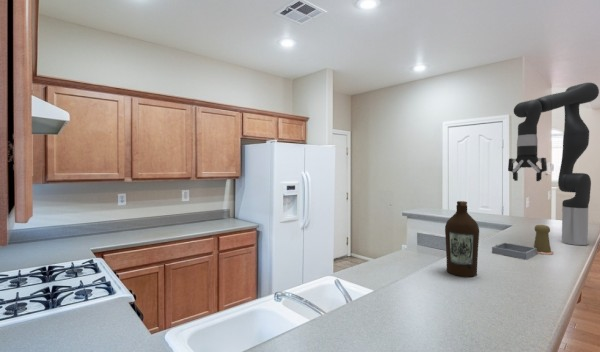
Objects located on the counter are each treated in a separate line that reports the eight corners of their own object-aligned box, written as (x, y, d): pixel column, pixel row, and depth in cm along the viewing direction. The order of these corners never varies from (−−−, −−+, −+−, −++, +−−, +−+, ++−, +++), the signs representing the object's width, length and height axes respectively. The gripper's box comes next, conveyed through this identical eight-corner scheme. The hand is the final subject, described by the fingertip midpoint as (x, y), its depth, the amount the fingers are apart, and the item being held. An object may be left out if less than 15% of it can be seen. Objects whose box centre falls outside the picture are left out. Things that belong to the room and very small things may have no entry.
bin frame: (504, 248, 141) (504, 242, 141) (537, 254, 131) (537, 248, 131) (492, 252, 133) (492, 247, 133) (526, 259, 123) (526, 253, 123)
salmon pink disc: (535, 249, 138) (535, 247, 138) (555, 252, 132) (555, 251, 132) (530, 252, 134) (530, 250, 134) (550, 255, 128) (550, 254, 128)
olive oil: (446, 266, 117) (446, 199, 116) (478, 270, 111) (479, 200, 111) (443, 274, 107) (443, 202, 107) (479, 280, 102) (479, 204, 101)
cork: (545, 249, 136) (545, 223, 136) (554, 252, 130) (554, 226, 130) (530, 248, 137) (530, 223, 137) (538, 252, 131) (538, 226, 131)
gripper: (549, 144, 138) (548, 181, 139) (512, 146, 150) (512, 180, 150) (543, 144, 134) (542, 181, 134) (506, 145, 145) (505, 180, 146)
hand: (526, 180), depth 142 cm, fingers open, 8 cm apart
